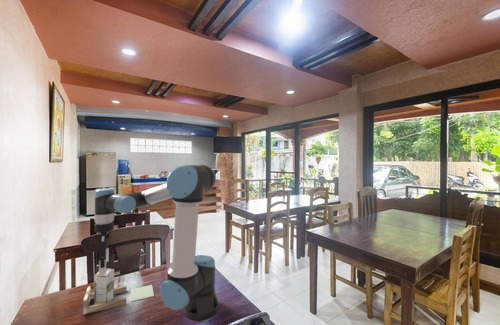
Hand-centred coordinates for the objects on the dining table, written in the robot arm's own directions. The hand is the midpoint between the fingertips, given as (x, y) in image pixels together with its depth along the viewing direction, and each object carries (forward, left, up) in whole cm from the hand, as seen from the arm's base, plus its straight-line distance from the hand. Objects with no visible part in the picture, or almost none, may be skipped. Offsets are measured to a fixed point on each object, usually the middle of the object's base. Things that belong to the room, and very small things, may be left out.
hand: (103, 267), depth 108 cm
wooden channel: (0, -1, -16) cm, 16 cm away
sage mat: (0, -16, -16) cm, 23 cm away
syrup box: (0, 0, -16) cm, 16 cm away
